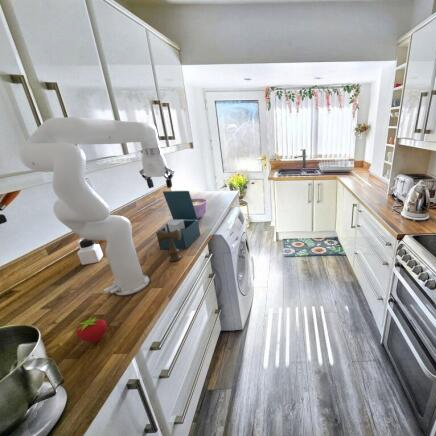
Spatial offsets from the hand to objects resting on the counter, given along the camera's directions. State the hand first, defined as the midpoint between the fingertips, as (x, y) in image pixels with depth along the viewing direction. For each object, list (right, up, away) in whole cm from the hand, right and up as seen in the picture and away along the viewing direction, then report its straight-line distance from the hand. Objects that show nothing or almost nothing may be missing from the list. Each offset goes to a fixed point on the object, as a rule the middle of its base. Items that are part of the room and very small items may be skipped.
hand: (160, 187), depth 119 cm
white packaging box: (+1, -29, +17) cm, 34 cm away
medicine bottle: (-36, -37, +3) cm, 52 cm away
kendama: (+7, -36, +1) cm, 37 cm away
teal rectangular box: (+1, -29, +20) cm, 35 cm away
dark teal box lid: (+1, -8, +19) cm, 21 cm away
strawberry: (+5, -54, -44) cm, 70 cm away
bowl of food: (-6, -15, +57) cm, 59 cm away
